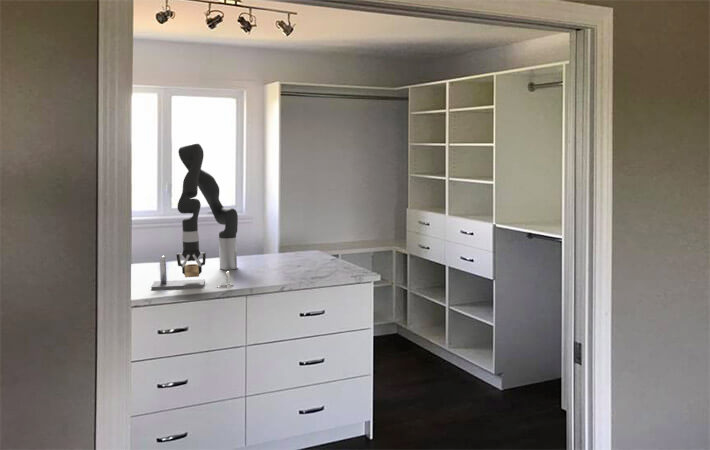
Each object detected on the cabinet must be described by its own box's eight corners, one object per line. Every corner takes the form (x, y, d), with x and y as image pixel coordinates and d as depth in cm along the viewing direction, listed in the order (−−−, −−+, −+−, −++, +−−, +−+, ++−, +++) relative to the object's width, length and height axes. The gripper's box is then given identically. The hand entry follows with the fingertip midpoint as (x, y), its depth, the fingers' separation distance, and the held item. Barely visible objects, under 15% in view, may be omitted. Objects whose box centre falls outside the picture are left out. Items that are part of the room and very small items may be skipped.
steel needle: (167, 282, 306) (165, 255, 305) (166, 284, 304) (165, 256, 302) (161, 283, 306) (159, 255, 304) (160, 284, 303) (159, 256, 301)
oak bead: (199, 273, 311) (198, 263, 310) (198, 276, 304) (198, 266, 304) (185, 274, 309) (185, 264, 309) (184, 277, 303) (184, 267, 302)
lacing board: (205, 282, 314) (204, 279, 314) (203, 287, 303) (203, 284, 302) (154, 284, 310) (154, 281, 310) (151, 290, 298) (151, 286, 298)
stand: (216, 286, 306) (232, 285, 309) (217, 288, 302) (234, 287, 304) (215, 270, 305) (232, 269, 308) (216, 272, 301) (233, 271, 303)
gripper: (206, 238, 309) (207, 271, 312) (175, 239, 307) (177, 273, 309) (205, 240, 302) (207, 275, 304) (174, 242, 299) (176, 276, 302)
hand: (192, 274), depth 307 cm, fingers closed on oak bead, 6 cm apart
